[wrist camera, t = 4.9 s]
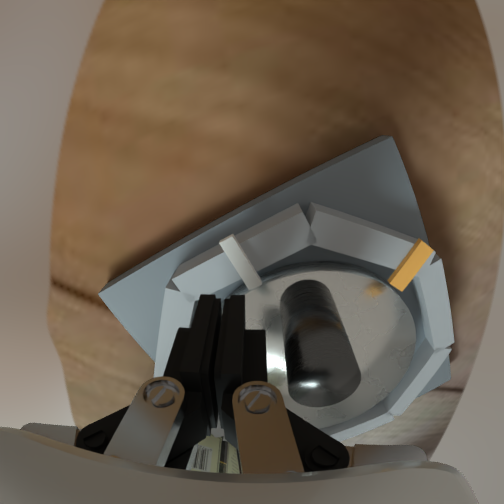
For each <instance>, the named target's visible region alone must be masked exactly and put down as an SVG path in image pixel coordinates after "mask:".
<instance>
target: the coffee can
mask: <svg viewBox="0 0 504 504" xmlns="http://www.w3.org/2000/svg"><path fill="white" fill-rule="evenodd" d="M191 471H202V472H214V473H233V474H239V467H238V460H237V453H236V448H235V447H233V446H232V445H231V444H230V443H229V442H228V441H223V436H222V437H217V438H216V437H214V436H213V435H212V434H211V436H206V438H205V439H204V440H202V441H201V442H199V443H198V450H197V453H196V456H195V458H194V461H193V464H192V467H191Z"/></svg>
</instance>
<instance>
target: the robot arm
mask: <svg viewBox="0 0 504 504" xmlns="http://www.w3.org/2000/svg"><path fill="white" fill-rule="evenodd" d="M218 414H219V419H220V426H221V429H224V435H225V440H227V441H228V442H229V443H230V444H231V445H232V446H233V447H235V448H236V453H237V460H238V467H239V474H233V473H214V472H202V471H191V467H192V464H193V461H194V458H195V456H196V453H197V450H198V443H199V442H201V441H202V440H204V439H205V438H206V436H211V428H217V423H218ZM0 504H479V503H478V500H477V498H476V496H475V494H474V491H473V490H472V488H471V486H470V484H469V483H468V481H467V479H466V478H465V476H464V475H463V474H462V473H461V472H460V471H459V470H457V469H456V468H454V467H452V466H449V465H447V464H443V463H438V462H430V461H428V459H427V456H426V453H425V452H424V451H423V450H422V449H421V448H419V447H417V446H413V445H363V444H355V445H354V447H350V446H344V445H343V444H342V443H340V442H339V441H337V440H336V439H334V438H332V437H331V436H329V435H328V434H326V433H324V432H323V431H321V430H319V429H318V428H316V427H315V426H313V425H312V424H310V423H308V422H307V421H305V420H304V419H302V418H301V417H299V416H298V415H296V414H295V413H293V412H292V411H290V410H289V409H287V408H286V407H285V404H284V400H283V397H282V394H281V392H280V390H279V389H278V388H276V387H275V386H274V385H272V384H270V383H268V374H267V351H266V331H265V329H246V322H245V295H230V299H226V298H225V300H224V306H223V313H222V305H221V298H216V295H215V294H200V297H199V301H198V304H197V308H196V311H195V315H194V318H193V322H192V326H191V328H184V327H179V328H178V330H177V333H176V336H175V339H174V342H173V346H172V349H171V352H170V355H169V358H168V361H167V365H166V368H165V371H164V374H163V376H161V377H155V378H152V379H149V380H148V381H146V382H145V383H143V385H142V386H141V387H140V389H139V390H138V392H137V394H136V396H135V397H134V399H133V401H132V403H131V405H129V406H127V407H125V408H123V409H121V410H119V411H117V412H115V413H113V414H110V415H108V416H106V417H104V418H102V419H100V420H98V421H96V422H94V423H92V424H89V425H87V426H86V427H84V428H83V429H78V427H77V426H62V425H50V424H41V423H28V424H26V425H24V426H23V427H22V428H21V429H16V428H10V427H0Z"/></svg>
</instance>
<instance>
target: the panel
mask: <svg viewBox="0 0 504 504" xmlns="http://www.w3.org/2000/svg"><path fill="white" fill-rule="evenodd" d="M435 253H436V252H435V251H434V250H433V249H432V248H431V247H430V246H429V242H428V238H427V235H426V231H425V228H424V224H423V221H422V217H421V214H420V211H419V207H418V204H417V201H416V198H415V195H414V192H413V189H412V186H411V183H410V180H409V178H408V175H407V172H406V169H405V167H404V164H403V161H402V159H401V156H400V154H399V151H398V149H397V146H396V144H395V141H394V139H393V137H392V136H385V135H382V136H380V137H377V138H375V139H373V140H371V141H369V142H367V143H365V144H362V145H360V146H358V147H356V148H354V149H352V150H350V151H348V152H346V153H344V154H342V155H340V156H338V157H335V158H333V159H331V160H329V161H327V162H325V163H323V164H321V165H319V166H317V167H315V168H313V169H311V170H309V171H307V172H305V173H303V174H301V175H299V176H297V177H296V178H294V179H292V180H290V181H288V182H286V183H284V184H282V185H280V186H278V187H276V188H274V189H272V190H270V191H268V192H267V193H265V194H263V195H261V196H259V197H257V198H255V199H253V200H251V201H250V202H248V203H246V204H244V205H242V206H240V207H238V208H237V209H235V210H233V211H231V212H229V213H227V214H226V215H224V216H222V217H220V218H218V219H216V220H215V221H213V222H211V223H209V224H207V225H206V226H204V227H202V228H200V229H199V230H197V231H195V232H193V233H191V234H190V235H188V236H186V237H184V238H183V239H181V240H179V241H177V242H176V243H174V244H172V245H170V246H169V247H167V248H165V249H164V250H162V251H160V252H158V253H157V254H155V255H153V256H152V257H150V258H148V259H147V260H145V261H143V262H141V263H140V264H138V265H136V266H135V267H133V268H131V269H130V270H128V271H126V272H125V273H123V274H122V275H120V276H118V277H117V278H115V279H113V280H112V281H110V282H108V283H107V284H106V285H105V286H104V287H103V289H102V290H101V291H100V292H99V293H98V295H99V296H100V297H101V299H102V300H103V301H104V302H105V304H106V305H107V306H108V308H109V309H110V310H111V311H112V313H113V314H114V315H115V316H116V318H117V319H118V320H119V321H120V323H121V324H122V325H123V326H124V327H125V329H126V330H127V331H128V332H129V333H130V334H131V336H132V337H133V338H134V339H135V340H136V341H137V343H138V344H139V345H140V346H141V347H142V348H143V349H144V351H145V352H146V353H147V354H148V355H149V356H150V357H151V358H152V359H153V360H154V362H155V370H154V378H155V377H161V376H163V374H164V371H165V368H166V365H167V361H168V358H169V355H170V352H171V349H172V346H173V342H174V339H175V336H176V333H177V330H178V328H179V327H184V328H191V326H192V322H193V318H194V315H195V311H196V308H197V304H198V301H199V297H200V294H215V295H216V298H221V304H222V303H223V301H224V300H225V298H227V297H228V296H229V295H231V294H232V293H233V292H234V291H235V290H237V289H238V288H239V287H241V286H242V285H244V284H245V285H246V286H247V288H248V289H249V291H250V290H252V289H254V288H256V287H258V286H260V285H262V280H261V279H260V277H259V276H260V275H262V274H264V273H266V272H268V271H271V270H274V269H277V268H280V267H283V266H287V265H292V264H296V263H302V262H312V261H334V262H341V263H348V264H352V265H355V266H358V267H362V268H364V269H366V270H369V271H371V272H373V273H375V274H377V275H378V276H380V277H381V278H383V279H384V280H386V281H387V282H388V283H389V284H390V285H391V286H392V287H393V288H394V289H395V291H396V292H397V293H398V295H399V296H400V297H401V299H402V300H403V302H404V303H405V304H406V306H407V307H408V309H409V311H410V313H411V315H412V317H413V320H414V324H415V328H416V345H415V351H414V355H413V358H412V361H411V363H410V365H409V368H408V370H407V371H406V373H405V375H404V376H403V378H402V379H401V381H400V382H399V383H398V385H397V386H396V387H395V388H394V389H393V390H392V391H391V392H390V393H389V394H388V395H387V396H386V397H385V398H384V399H383V400H382V401H380V402H379V403H378V404H376V405H375V406H374V407H372V408H371V409H369V410H367V411H366V412H364V413H362V414H360V415H358V416H356V417H354V418H352V419H350V420H347V421H345V422H342V423H339V424H336V425H333V426H329V427H325V428H320V429H319V430H321V431H323V432H324V433H326V434H328V435H329V436H331V437H332V438H334V439H336V440H337V441H339V442H340V441H343V440H346V439H349V438H351V437H354V436H357V435H359V434H362V433H364V432H367V431H369V430H372V429H374V428H376V427H379V426H381V425H383V424H386V423H388V422H390V421H392V420H394V418H393V415H401V414H402V413H403V412H404V411H405V410H406V408H407V407H408V406H409V405H410V404H411V403H412V401H413V400H414V399H415V398H417V397H419V396H421V395H423V394H425V393H427V392H429V391H431V390H432V389H434V388H436V387H438V386H440V385H441V384H443V383H445V382H447V381H448V380H450V379H451V373H450V361H449V353H450V352H451V350H452V349H451V347H450V345H451V344H453V343H454V334H453V325H452V317H451V310H450V303H449V297H448V291H447V285H446V279H445V274H444V269H443V264H442V259H441V258H440V257H439V256H438V255H436V254H435ZM211 434H212V435H213V436H214V437H216V438H217V437H222V436H223V441H227V440H225V435H224V429H221V426H220V419H219V414H218V423H217V428H211Z"/></svg>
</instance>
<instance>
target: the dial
mask: <svg viewBox="0 0 504 504" xmlns="http://www.w3.org/2000/svg"><path fill="white" fill-rule="evenodd" d="M259 277H260V279H261V280H262V285H260V286H258V287H256V288H254V289H252V290H250V291H249V289H248V288H247V286H246V285H245V284H244V285H242V286H241V287H239V288H238V289H237V290H235V291H234V292H233V293H232V294H231V295H245V322H246V329H265V331H266V351H267V374H268V383H270V384H272V385H274V386H275V387H276V388H278V389H279V390H280V392H281V394H282V397H283V400H284V404H285V407H286V408H287V409H289V410H290V411H292V412H293V413H295V414H296V415H298V416H299V417H301V418H302V419H304V420H305V421H307V422H308V423H310V424H312V425H313V426H315V427H316V428H318V429H320V428H325V427H329V426H333V425H336V424H339V423H342V422H345V421H347V420H350V419H352V418H354V417H356V416H358V415H360V414H362V413H364V412H366V411H367V410H369V409H371V408H372V407H374V406H375V405H376V404H378V403H379V402H380V401H382V400H383V399H384V398H385V397H386V396H387V395H388V394H389V393H390V392H391V391H392V390H393V389H394V388H395V387H396V386H397V385H398V383H399V382H400V381H401V379H402V378H403V376H404V375H405V373H406V371H407V370H408V368H409V365H410V363H411V361H412V358H413V355H414V351H415V345H416V328H415V324H414V320H413V317H412V315H411V313H410V311H409V309H408V307H407V306H406V304H405V303H404V302H403V300H402V299H401V297H400V296H399V295H398V293H397V292H396V291H395V289H394V288H393V287H392V286H391V285H390V284H389V283H388V282H387V281H386V280H384V279H383V278H381V277H380V276H378V275H377V274H375V273H373V272H371V271H369V270H366V269H364V268H362V267H358V266H355V265H352V264H348V263H341V262H334V261H312V262H302V263H296V264H292V265H287V266H283V267H280V268H277V269H274V270H271V271H268V272H266V273H264V274H262V275H260V276H259ZM226 299H230V295H229V296H228V297H227V298H226ZM221 305H222V313H223V306H224V301H223V303H222V304H221Z"/></svg>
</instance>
